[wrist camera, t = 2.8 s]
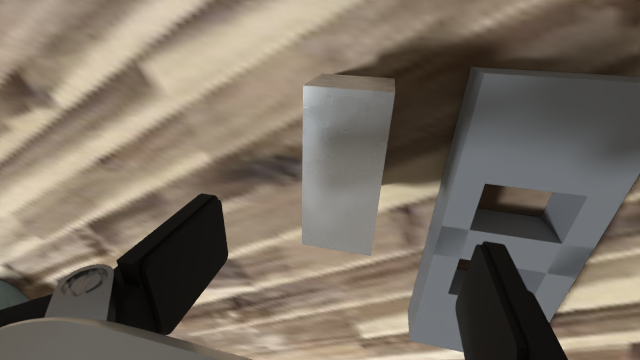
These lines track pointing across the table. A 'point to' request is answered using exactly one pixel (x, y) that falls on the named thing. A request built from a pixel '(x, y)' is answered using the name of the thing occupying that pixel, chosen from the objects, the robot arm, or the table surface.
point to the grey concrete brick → (344, 159)
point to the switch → (528, 184)
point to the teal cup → (10, 295)
